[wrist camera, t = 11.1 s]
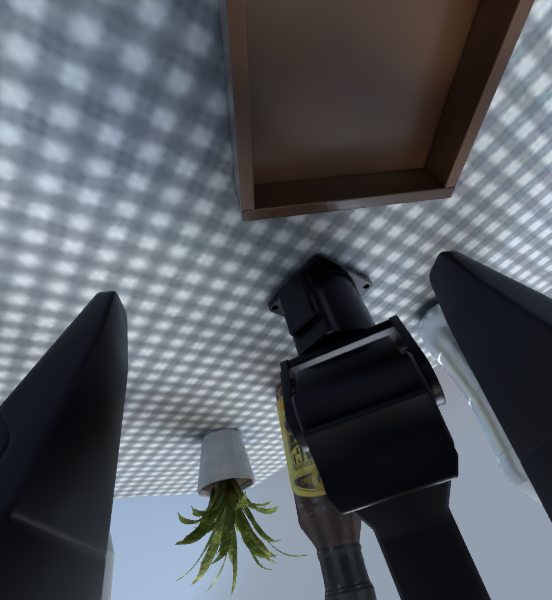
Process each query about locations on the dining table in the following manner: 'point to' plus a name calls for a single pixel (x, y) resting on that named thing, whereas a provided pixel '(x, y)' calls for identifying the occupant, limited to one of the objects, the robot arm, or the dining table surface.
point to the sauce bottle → (326, 524)
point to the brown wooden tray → (358, 97)
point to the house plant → (226, 502)
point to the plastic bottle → (473, 395)
